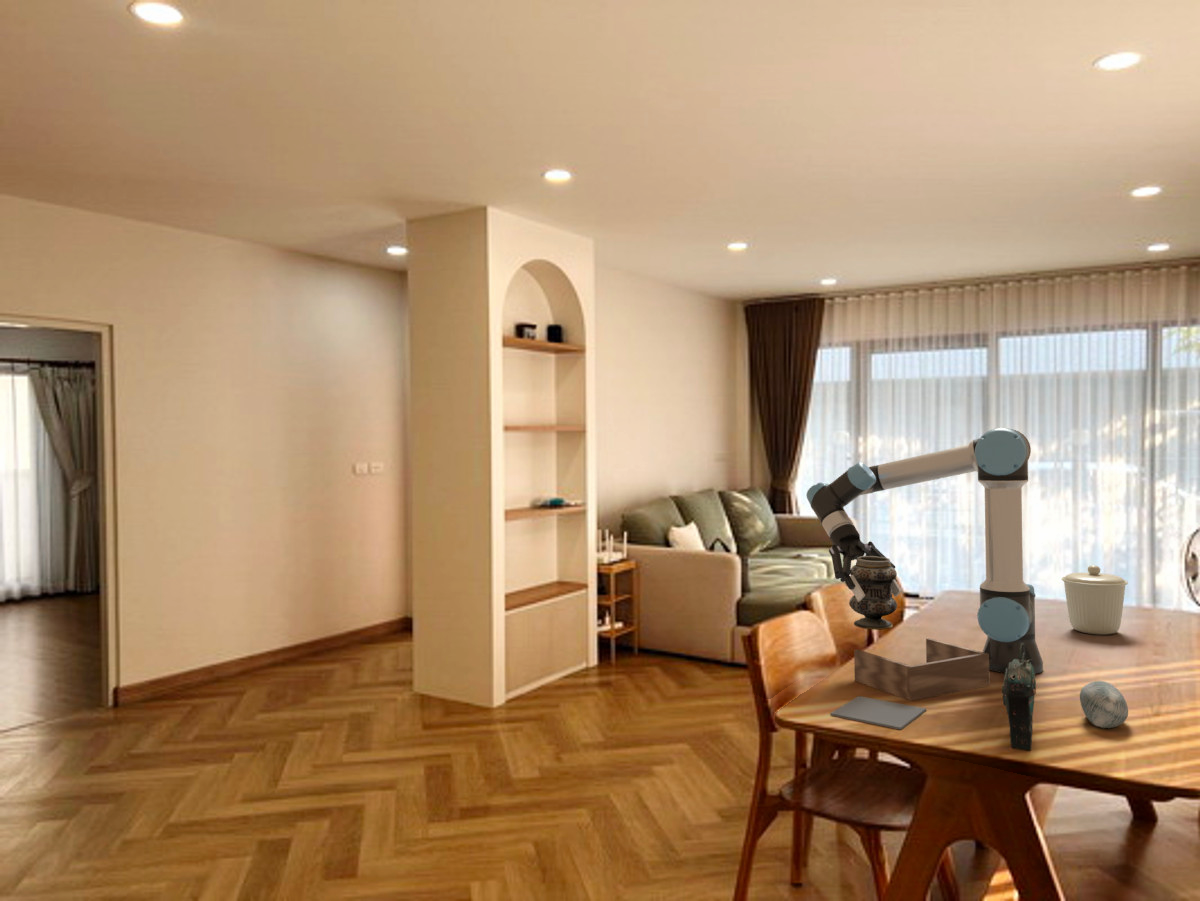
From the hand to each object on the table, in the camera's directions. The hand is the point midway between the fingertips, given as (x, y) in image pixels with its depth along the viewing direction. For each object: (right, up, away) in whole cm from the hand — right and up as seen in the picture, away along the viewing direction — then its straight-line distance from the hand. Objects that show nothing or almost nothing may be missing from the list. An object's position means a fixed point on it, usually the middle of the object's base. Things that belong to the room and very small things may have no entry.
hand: (880, 596), depth 218 cm
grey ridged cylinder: (+36, -21, -37) cm, 56 cm away
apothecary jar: (-1, -8, +3) cm, 9 cm away
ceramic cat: (+14, -22, -45) cm, 52 cm away
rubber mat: (-10, -22, -29) cm, 37 cm away
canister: (+84, -20, +46) cm, 98 cm away
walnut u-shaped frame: (+9, -21, -6) cm, 24 cm away
